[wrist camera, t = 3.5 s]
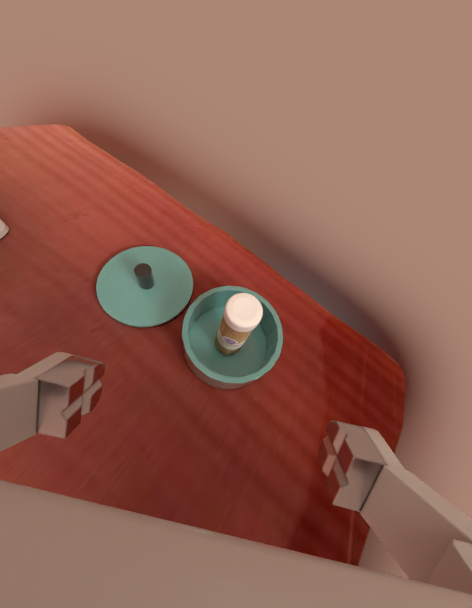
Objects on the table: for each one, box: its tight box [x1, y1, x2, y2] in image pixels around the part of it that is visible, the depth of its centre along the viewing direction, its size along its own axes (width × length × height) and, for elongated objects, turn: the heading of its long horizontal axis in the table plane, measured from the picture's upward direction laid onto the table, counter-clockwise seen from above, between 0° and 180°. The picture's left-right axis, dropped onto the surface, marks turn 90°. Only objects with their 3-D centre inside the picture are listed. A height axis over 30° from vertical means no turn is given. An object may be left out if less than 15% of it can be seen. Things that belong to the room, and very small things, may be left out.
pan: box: [182, 286, 283, 389], centre depth 38 cm, size 15×15×6 cm
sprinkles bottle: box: [215, 293, 263, 355], centre depth 34 cm, size 5×5×14 cm
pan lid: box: [96, 246, 193, 327], centre depth 40 cm, size 16×16×5 cm
